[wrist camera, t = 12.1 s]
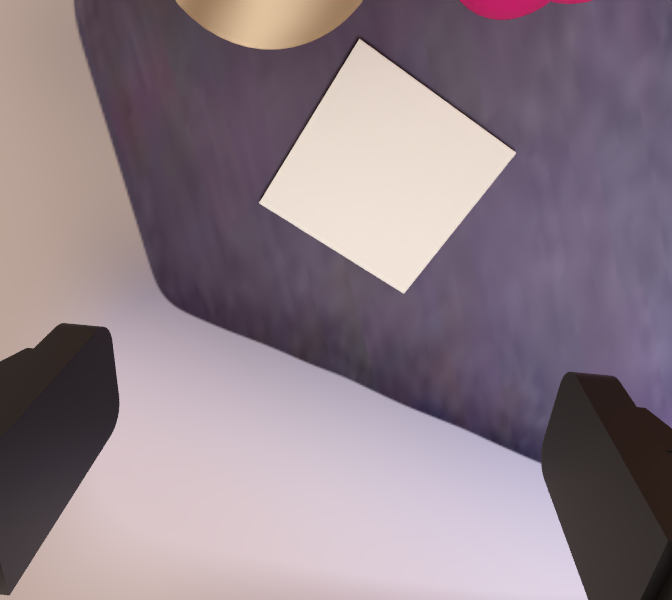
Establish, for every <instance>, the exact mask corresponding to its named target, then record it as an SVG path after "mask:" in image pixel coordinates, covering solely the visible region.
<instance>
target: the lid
mask: <svg viewBox="0 0 672 600" xmlns="http://www.w3.org/2000/svg"><path fill="white" fill-rule="evenodd" d="M175 1H176V2H177V3H178V5H179V6H180V7H181V8H182V9H183V10H184V11H185V12H186V13H187V14H188V15H189V16H190V17H191V18H193V19H194V20H195V21H196V22H198V23H199V24H200V25H201V26H203V27H204V28H205V29H207V30H209V31H210V32H212V33H214V34H215V35H217V36H219V37H221V38H223V39H226V40H228V41H230V42H233V43H235V44H239V45H243V46H246V47H251V48H258V49H284V48H291V47H296V46H299V45H302V44H306V43H309V42H311V41H313V40H315V39H318V38H320V37H322V36H324V35H326V34H327V33H329V32H330V31H332V30H333V29H335V28H336V27H338V26H339V25H340V24H341V23H342V22H343V21H345V20H346V19H347V18H348V17H349V16H350V15H351V14H352V13H353V12H354V11H355V10H356V8H357V7H358V6H359V5H360V4H361V3H362V1H363V0H175Z"/></svg>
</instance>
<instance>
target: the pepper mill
mask: <svg viewBox="0 0 672 600" xmlns="http://www.w3.org/2000/svg"><path fill="white" fill-rule="evenodd" d="M550 1H552V2H555V3H564V4H575V3H584V2H588V1H592V0H460V2H462V3H463V4H464V5H465V6H466V7H467V8H468V9H469V10H471V11H473V12H474V13H476V14H478V15H481V16H483V17H486V18H490V19H496V20H508V19H514V18H518V17H521V16H524V15H527V14H530V13H532V12H534V11H536V10H538V9H540V8H542V7H544V6H545V5H546V4H547V3H549V2H550Z"/></svg>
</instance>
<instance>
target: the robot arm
mask: <svg viewBox="0 0 672 600" xmlns="http://www.w3.org/2000/svg"><path fill="white" fill-rule="evenodd" d="M118 413H119V393H118V385H117V377H116V368H115V360H114V352H113V344H112V337H111V334H110V332H109V330H108V329H107V328H105V327H99V326H88V325H77V324H67V323H62V324H59V325H58V326H56V327H55V328H54V329H53V330H52V331H51V332H50V333H49V334H48V335H47V336H46V337H45V338H44V339H43V340H42V341H41V342H40V343H39V344H38V345H37V346H36V347H35V348H34V349H32V348H26V349H24V350H22V351H20V352H18V353H16V354H14V355H12V356H10V357H8V358H6V359H4V360H2V361H0V594H3V595H10V594H11V592H12V591H13V589H14V587H15V586H16V584H17V583H18V581H19V579H20V578H21V576H22V575H23V573H24V572H25V570H26V568H27V567H28V565H29V564H30V562H31V560H32V559H33V557H34V556H35V554H36V553H37V551H38V550H39V548H40V546H41V544H42V543H43V542H44V540H45V538H46V537H47V535H48V534H49V532H50V531H51V529H52V527H53V526H54V524H55V523H56V521H57V520H58V518H59V516H60V515H61V513H62V512H63V510H64V508H65V507H66V505H67V504H68V502H69V500H70V499H71V497H72V496H73V494H74V493H75V491H76V490H77V488H78V486H79V485H80V483H81V481H82V480H83V478H84V477H85V475H86V474H87V472H88V470H89V469H90V467H91V466H92V464H93V463H94V461H95V459H96V458H97V456H98V454H99V453H100V452H101V450H102V449H103V447H104V445H105V444H106V442H107V441H108V439H109V438H110V436H111V434H112V432H113V430H114V428H115V425H116V422H117V418H118ZM541 464H542V472H543V476H544V480H545V482H546V485H547V488H548V491H549V493H550V496H551V499H552V502H553V504H554V507H555V510H556V512H557V515H558V518H559V521H560V523H561V526H562V529H563V532H564V534H565V537H566V540H567V542H568V545H569V548H570V551H571V553H572V556H573V559H574V562H575V564H576V567H577V570H578V573H579V575H580V578H581V581H582V584H583V586H584V589H585V592H586V594H587V597H588V600H672V429H671V428H670V427H669V426H668V425H666V424H665V423H664V422H663V421H661V420H660V419H659V418H658V417H656V416H655V415H654V414H652V413H651V412H650V411H649V410H647V409H646V408H639V407H636V405H635V404H634V402H633V401H632V399H631V398H630V396H629V395H628V393H627V392H626V390H625V389H624V387H623V386H622V384H621V383H620V381H619V380H618V379H617V378H616V377H614V376H608V375H598V374H587V373H577V372H568V373H566V374H565V375H564V377H563V379H562V381H561V383H560V387H559V390H558V393H557V397H556V400H555V403H554V407H553V410H552V413H551V417H550V420H549V423H548V427H547V430H546V433H545V437H544V440H543V444H542V452H541Z"/></svg>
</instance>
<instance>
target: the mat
mask: <svg viewBox="0 0 672 600" xmlns="http://www.w3.org/2000/svg"><path fill="white" fill-rule="evenodd" d="M515 154H516V152H515V151H513V150H512V149H511V148H509V147H508V146H506V145H505V144H504V143H502V142H501V141H500V140H498V139H497V138H495V137H494V136H493V135H491V134H490V133H489V132H487V131H486V130H484V129H483V128H482V127H480V126H479V125H478V124H476V123H475V122H473V121H472V120H471V119H469V118H468V117H467V116H465V115H464V114H462V113H461V112H460V111H458V110H457V109H456V108H454V107H453V106H451V105H450V104H449V103H447V102H446V101H445V100H443V99H442V98H440V97H439V96H438V95H436V94H435V93H434V92H432V91H431V90H429V89H428V88H427V87H425V86H424V85H423V84H421V83H420V82H418V81H417V80H416V79H414V78H413V77H412V76H410V75H409V74H407V73H406V72H405V71H403V70H402V69H401V68H399V67H398V66H396V65H395V64H394V63H392V62H391V61H390V60H388V59H387V58H385V57H384V56H383V55H381V54H380V53H379V52H377V51H376V50H374V49H373V48H372V47H370V46H369V45H368V44H366V43H365V42H363V41H362V40H361V39H359V40H358V42H357V43H356V45H355V47H354V48H353V50H352V52H351V53H350V55H349V56H348V58H347V60H346V61H345V63H344V65H343V66H342V68H341V70H340V71H339V73H338V74H337V76H336V78H335V79H334V81H333V83H332V84H331V86H330V88H329V89H328V91H327V92H326V94H325V96H324V97H323V99H322V101H321V102H320V104H319V106H318V107H317V109H316V110H315V112H314V114H313V115H312V117H311V119H310V120H309V122H308V124H307V125H306V127H305V129H304V130H303V132H302V133H301V135H300V137H299V138H298V140H297V142H296V143H295V145H294V147H293V148H292V150H291V151H290V153H289V155H288V156H287V158H286V160H285V161H284V163H283V165H282V166H281V168H280V169H279V171H278V173H277V174H276V176H275V178H274V179H273V181H272V183H271V184H270V186H269V187H268V189H267V191H266V192H265V194H264V196H263V197H262V199H261V201H260V202H259V203H260V204H261V205H263V206H265V207H266V208H268V209H269V210H271V211H272V212H274V213H276V214H277V215H279V216H280V217H282V218H284V219H285V220H287V221H288V222H290V223H292V224H293V225H295V226H296V227H298V228H300V229H301V230H303V231H304V232H306V233H308V234H309V235H311V236H312V237H314V238H316V239H317V240H319V241H320V242H322V243H324V244H325V245H327V246H328V247H330V248H332V249H333V250H335V251H336V252H338V253H340V254H341V255H343V256H344V257H346V258H348V259H349V260H351V261H352V262H354V263H356V264H357V265H359V266H360V267H362V268H364V269H365V270H367V271H368V272H370V273H372V274H373V275H375V276H376V277H378V278H380V279H381V280H383V281H384V282H386V283H388V284H389V285H391V286H392V287H394V288H396V289H397V290H399V291H400V292H402V293H405V292H406V290H407V289H408V288H409V287H410V285H411V284H412V283H413V282H414V280H415V279H416V278H417V277H418V275H419V274H420V273H421V272H422V270H423V269H424V268H425V267H426V265H427V264H428V263H429V262H430V260H431V259H432V258H433V257H434V255H435V254H436V253H437V252H438V250H439V249H440V248H441V247H442V245H443V244H444V243H445V242H446V240H447V239H448V238H449V237H450V235H451V234H452V233H453V232H454V230H455V229H456V228H457V227H458V225H459V224H460V223H461V222H462V220H463V219H464V218H465V217H466V215H467V214H468V213H469V212H470V210H471V209H472V208H473V207H474V205H475V204H476V203H477V202H478V200H479V199H480V198H481V197H482V195H483V194H484V193H485V192H486V190H487V189H488V188H489V187H490V185H491V184H492V183H493V182H494V180H495V179H496V178H497V177H498V175H499V174H500V173H501V171H502V170H503V169H504V168H505V166H506V165H507V164H508V163H509V161H510V160H511V159H512V158H513V156H514V155H515Z"/></svg>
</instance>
